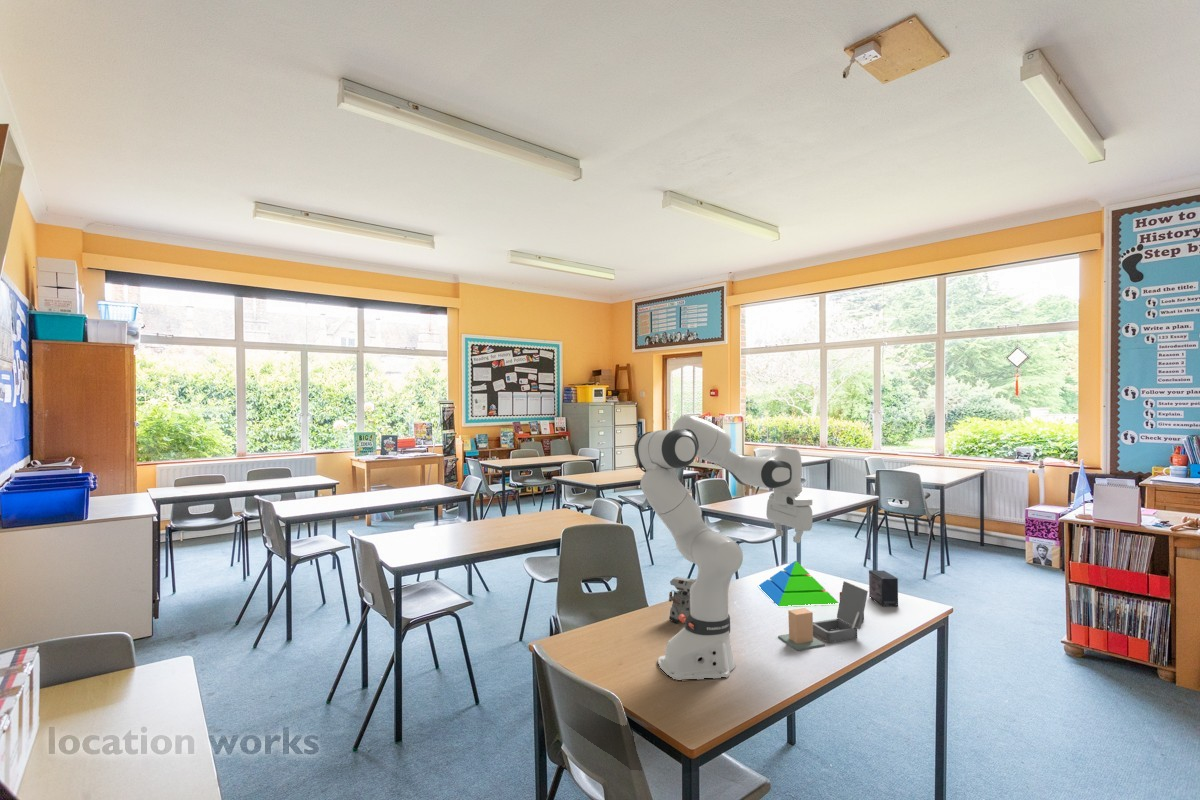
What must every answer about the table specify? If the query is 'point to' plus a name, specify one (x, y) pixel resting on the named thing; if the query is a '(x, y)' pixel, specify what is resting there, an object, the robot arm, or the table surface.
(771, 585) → the pyramid toy
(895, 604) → the small box
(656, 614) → the table surface
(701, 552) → the robot arm
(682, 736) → the table surface
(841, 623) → the equipment case
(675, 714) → the table surface
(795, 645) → the rubber mat
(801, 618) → the block
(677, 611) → the figurine
